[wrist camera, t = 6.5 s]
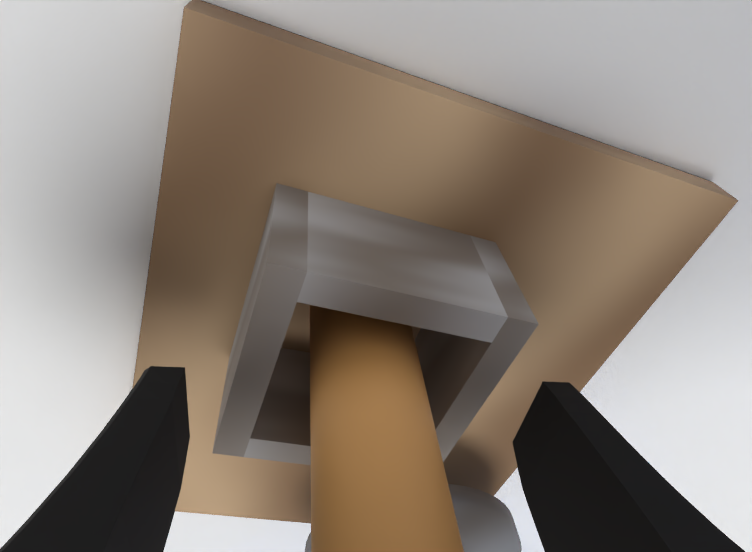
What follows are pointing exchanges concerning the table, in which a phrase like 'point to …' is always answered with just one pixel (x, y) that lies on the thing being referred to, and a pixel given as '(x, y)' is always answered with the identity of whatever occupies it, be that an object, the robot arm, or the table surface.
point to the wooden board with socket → (385, 257)
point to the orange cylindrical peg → (373, 441)
